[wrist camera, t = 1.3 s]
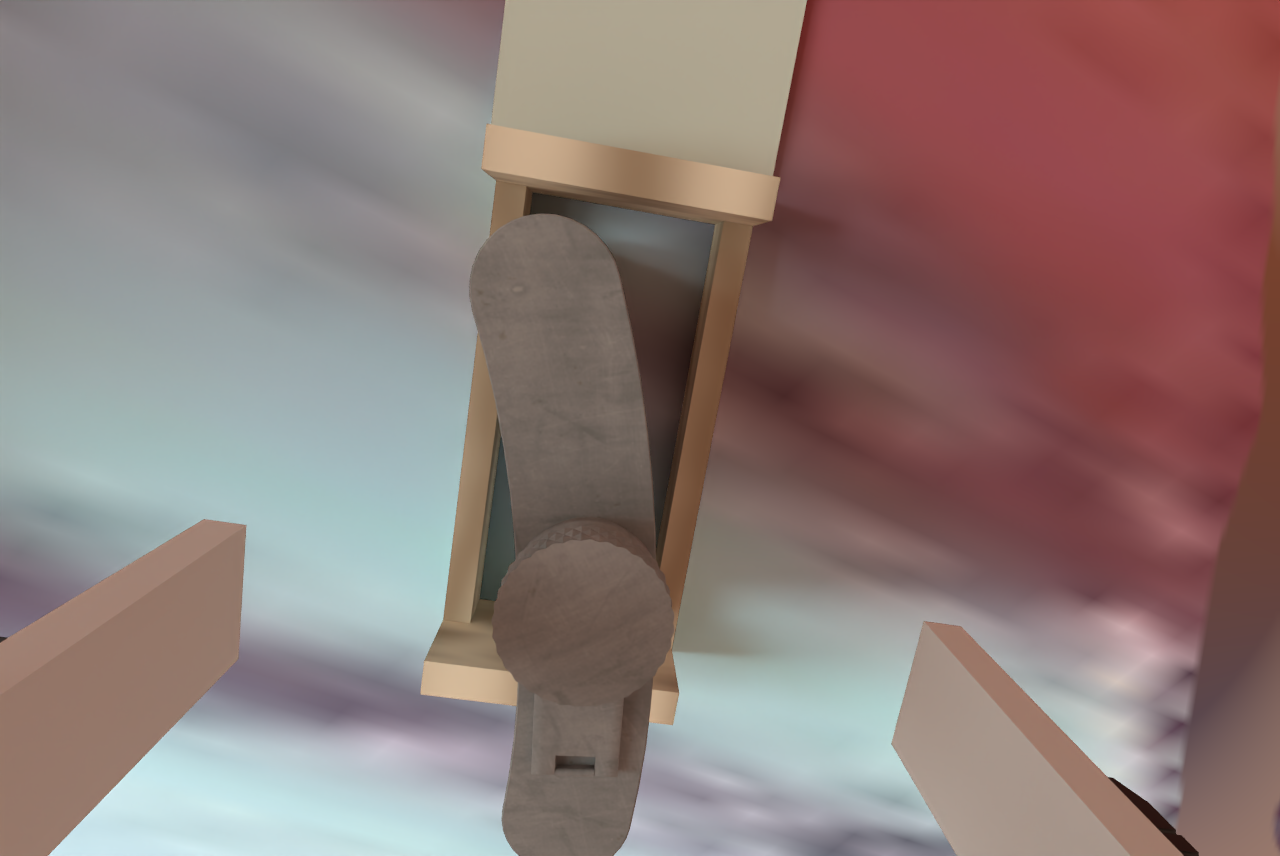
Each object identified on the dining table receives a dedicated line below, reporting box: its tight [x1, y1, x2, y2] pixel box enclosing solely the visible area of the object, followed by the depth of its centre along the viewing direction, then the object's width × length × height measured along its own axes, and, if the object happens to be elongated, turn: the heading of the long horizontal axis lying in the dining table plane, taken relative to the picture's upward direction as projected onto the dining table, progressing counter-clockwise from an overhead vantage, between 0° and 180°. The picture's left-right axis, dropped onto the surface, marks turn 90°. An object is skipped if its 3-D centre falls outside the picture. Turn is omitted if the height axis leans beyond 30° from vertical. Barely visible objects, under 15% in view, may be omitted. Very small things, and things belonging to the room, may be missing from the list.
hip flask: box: [469, 213, 674, 856], centre depth 24 cm, size 16×4×20 cm, turn 1°
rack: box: [421, 124, 780, 725], centre depth 31 cm, size 10×22×6 cm, turn 170°
